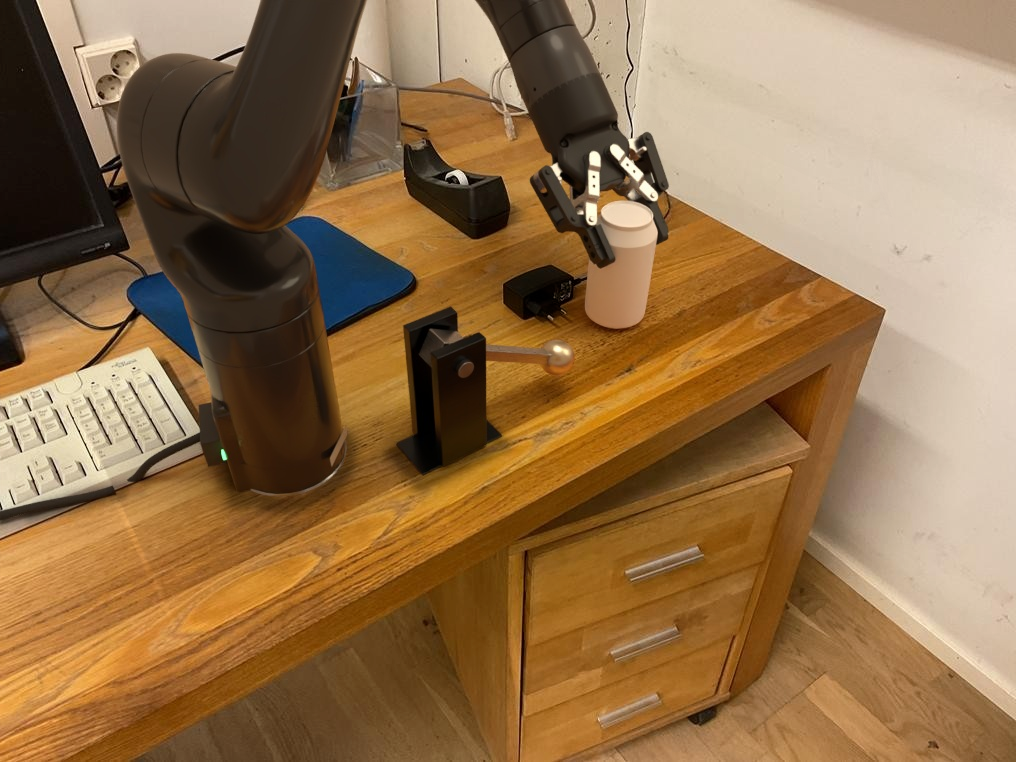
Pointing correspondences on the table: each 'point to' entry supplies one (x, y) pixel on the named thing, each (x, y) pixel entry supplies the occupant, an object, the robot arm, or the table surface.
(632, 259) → the beverage can
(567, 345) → the lever
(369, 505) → the table surface
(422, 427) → the bracket
